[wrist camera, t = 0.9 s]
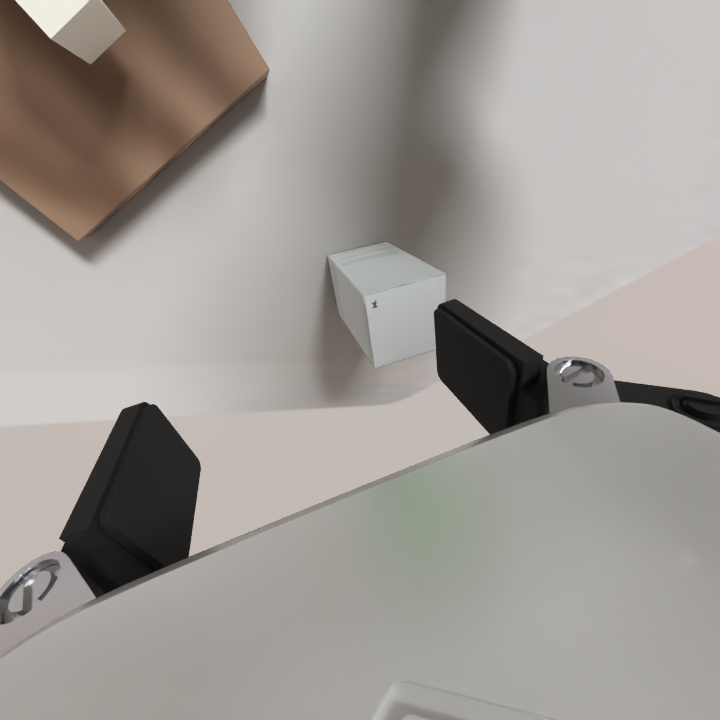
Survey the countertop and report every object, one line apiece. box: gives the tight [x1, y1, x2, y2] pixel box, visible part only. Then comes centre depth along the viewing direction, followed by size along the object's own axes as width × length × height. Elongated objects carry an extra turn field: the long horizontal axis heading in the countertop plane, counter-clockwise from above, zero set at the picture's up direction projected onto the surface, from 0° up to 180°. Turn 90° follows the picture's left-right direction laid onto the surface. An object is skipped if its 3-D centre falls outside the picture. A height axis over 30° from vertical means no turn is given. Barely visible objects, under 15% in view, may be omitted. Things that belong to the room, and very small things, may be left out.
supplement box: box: [327, 242, 447, 368], centre depth 32 cm, size 7×7×13 cm
